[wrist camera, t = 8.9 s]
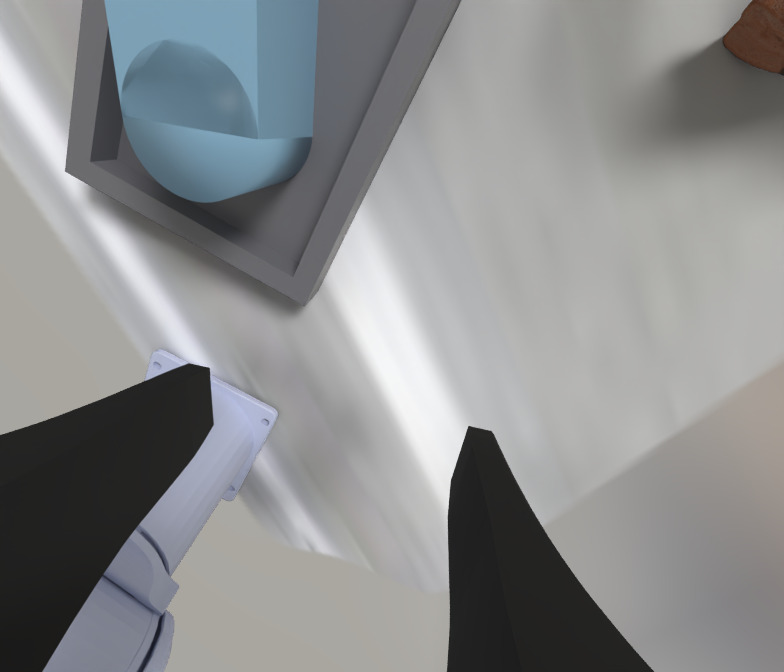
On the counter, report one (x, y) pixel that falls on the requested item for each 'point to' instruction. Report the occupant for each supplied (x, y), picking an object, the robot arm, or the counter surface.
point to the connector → (216, 90)
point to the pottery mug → (759, 35)
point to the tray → (327, 154)
